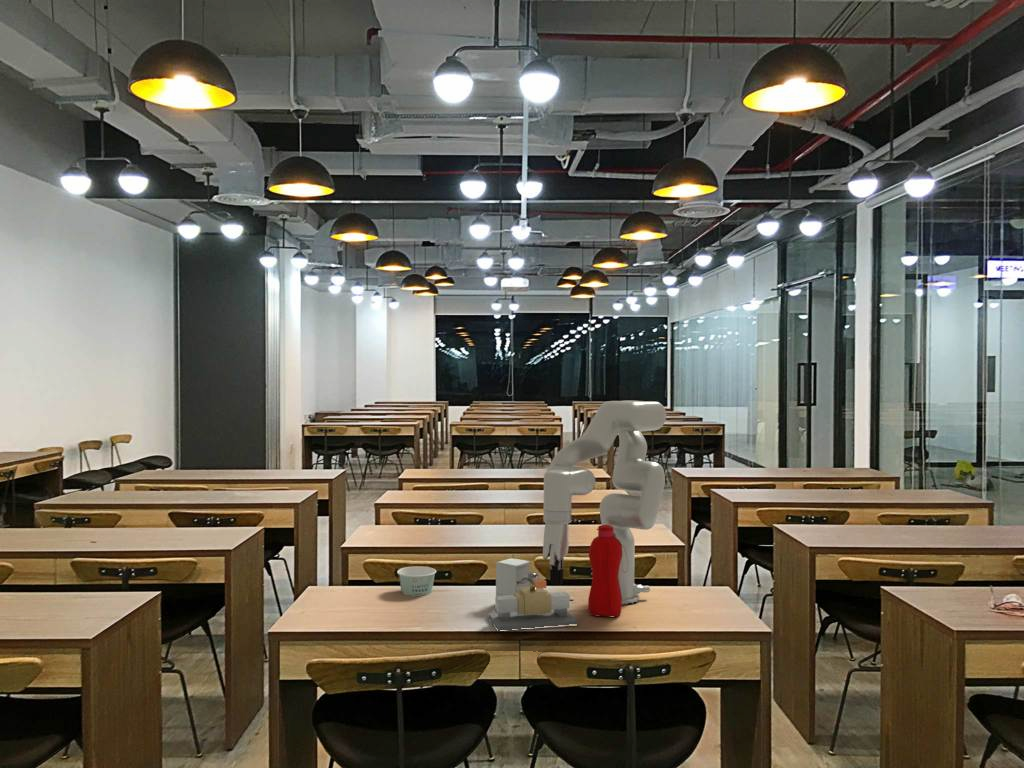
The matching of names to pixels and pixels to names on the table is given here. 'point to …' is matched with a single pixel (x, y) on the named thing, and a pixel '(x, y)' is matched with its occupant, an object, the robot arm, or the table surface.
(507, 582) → the supplement box
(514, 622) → the mounting board
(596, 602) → the water bottle
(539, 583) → the valve lever
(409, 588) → the food container
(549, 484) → the robot arm
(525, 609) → the pipe valve
